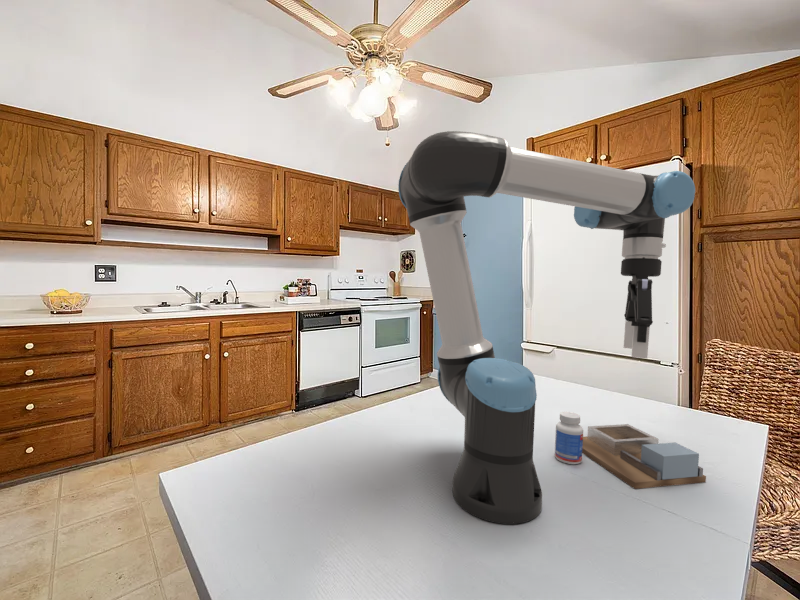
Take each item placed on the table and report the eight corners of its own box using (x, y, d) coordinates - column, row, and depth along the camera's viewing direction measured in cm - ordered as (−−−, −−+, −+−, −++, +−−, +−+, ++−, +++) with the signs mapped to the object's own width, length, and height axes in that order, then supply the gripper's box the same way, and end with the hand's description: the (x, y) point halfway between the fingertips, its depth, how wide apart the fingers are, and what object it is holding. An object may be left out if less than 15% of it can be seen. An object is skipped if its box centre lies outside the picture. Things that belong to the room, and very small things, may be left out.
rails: (657, 480, 69) (657, 472, 69) (620, 458, 78) (620, 450, 78) (702, 476, 71) (703, 468, 71) (661, 454, 80) (662, 447, 80)
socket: (614, 455, 79) (615, 441, 79) (587, 438, 88) (587, 426, 88) (657, 452, 82) (658, 438, 81) (627, 436, 90) (627, 424, 90)
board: (634, 488, 69) (635, 482, 69) (566, 442, 88) (567, 437, 88) (705, 482, 72) (706, 476, 72) (624, 438, 91) (624, 434, 91)
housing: (662, 479, 70) (663, 456, 69) (640, 466, 75) (641, 444, 74) (697, 476, 71) (699, 453, 71) (673, 463, 76) (675, 442, 76)
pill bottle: (585, 466, 77) (587, 420, 76) (557, 463, 78) (559, 418, 77) (577, 454, 82) (580, 411, 82) (552, 451, 83) (554, 409, 83)
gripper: (675, 253, 70) (667, 364, 71) (650, 262, 92) (644, 346, 93) (629, 253, 73) (621, 359, 74) (616, 262, 95) (610, 343, 96)
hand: (634, 352), depth 83 cm, fingers open, 13 cm apart
